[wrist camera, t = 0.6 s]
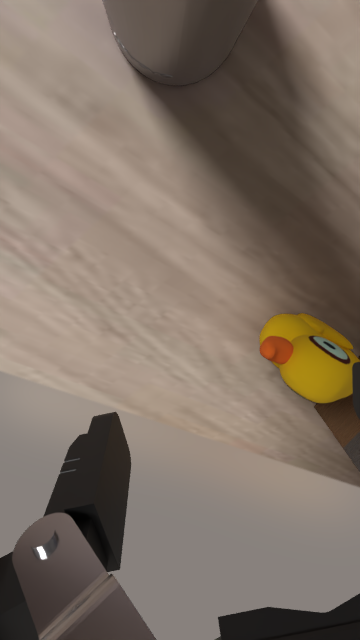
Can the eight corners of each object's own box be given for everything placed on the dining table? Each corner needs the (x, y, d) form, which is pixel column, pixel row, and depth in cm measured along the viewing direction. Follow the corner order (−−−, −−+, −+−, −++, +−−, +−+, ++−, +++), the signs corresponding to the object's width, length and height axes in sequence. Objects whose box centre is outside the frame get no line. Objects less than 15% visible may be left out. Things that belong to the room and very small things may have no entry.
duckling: (222, 331, 31) (249, 392, 22) (251, 282, 29) (294, 326, 20) (317, 374, 33) (377, 446, 24) (349, 331, 32) (427, 391, 23)
